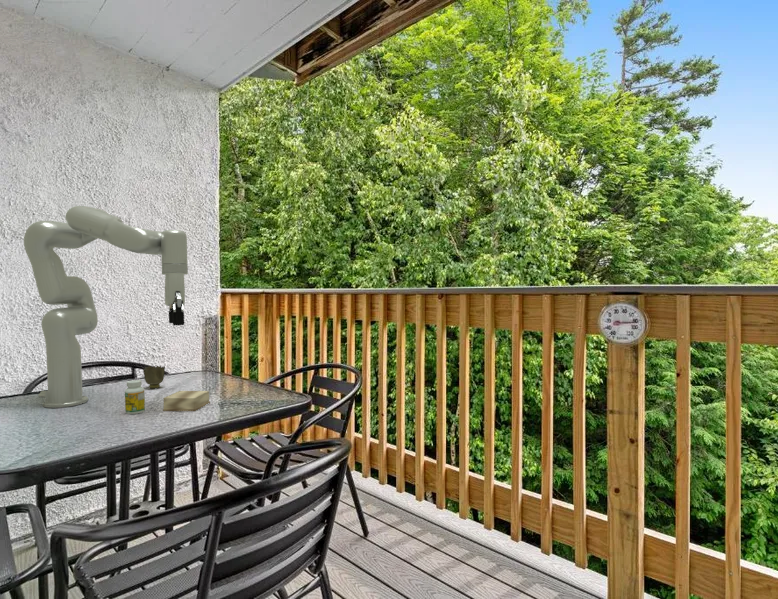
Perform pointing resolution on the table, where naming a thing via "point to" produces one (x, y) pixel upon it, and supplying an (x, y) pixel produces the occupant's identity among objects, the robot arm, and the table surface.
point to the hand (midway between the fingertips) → (176, 324)
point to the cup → (154, 376)
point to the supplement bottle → (134, 397)
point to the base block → (186, 401)
